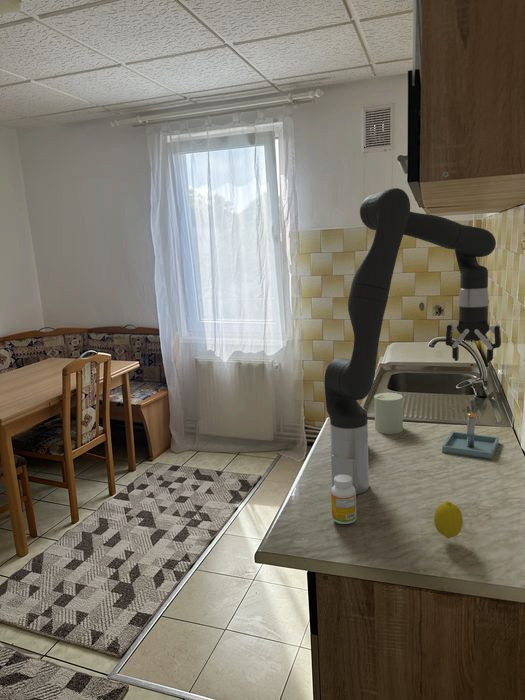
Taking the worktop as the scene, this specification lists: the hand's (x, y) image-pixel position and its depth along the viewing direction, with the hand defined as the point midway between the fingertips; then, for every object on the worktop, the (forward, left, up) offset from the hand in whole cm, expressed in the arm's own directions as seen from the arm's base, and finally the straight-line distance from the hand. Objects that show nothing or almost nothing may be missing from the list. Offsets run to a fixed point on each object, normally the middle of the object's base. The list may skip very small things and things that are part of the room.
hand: (472, 361), depth 144 cm
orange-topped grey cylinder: (0, 0, -26) cm, 26 cm away
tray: (0, 0, -26) cm, 26 cm away
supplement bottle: (-53, +17, -26) cm, 62 cm away
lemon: (-51, -5, -26) cm, 58 cm away
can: (+6, +26, -26) cm, 38 cm away
